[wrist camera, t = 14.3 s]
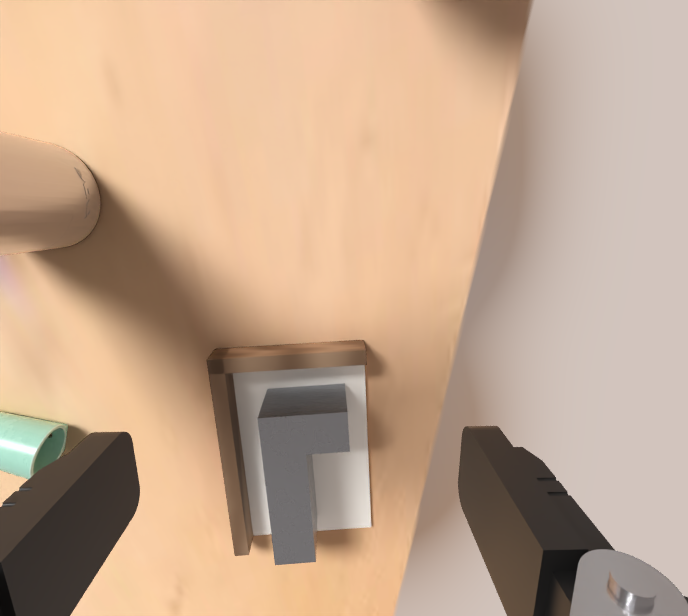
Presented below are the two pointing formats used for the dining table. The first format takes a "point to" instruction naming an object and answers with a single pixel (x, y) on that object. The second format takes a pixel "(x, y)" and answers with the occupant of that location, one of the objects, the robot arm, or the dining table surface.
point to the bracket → (298, 461)
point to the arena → (226, 413)
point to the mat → (329, 468)
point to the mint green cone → (29, 443)
